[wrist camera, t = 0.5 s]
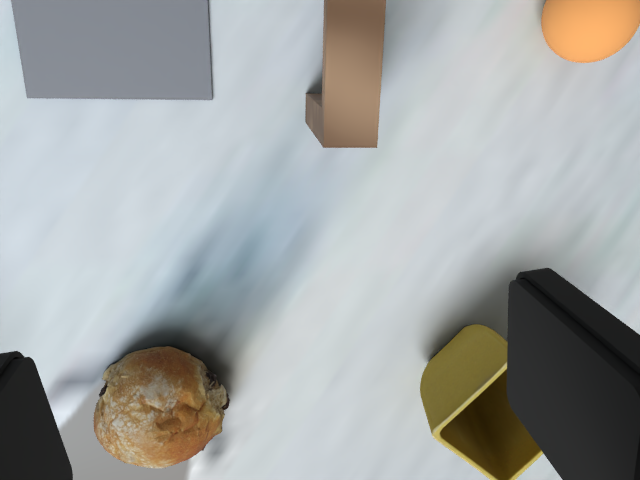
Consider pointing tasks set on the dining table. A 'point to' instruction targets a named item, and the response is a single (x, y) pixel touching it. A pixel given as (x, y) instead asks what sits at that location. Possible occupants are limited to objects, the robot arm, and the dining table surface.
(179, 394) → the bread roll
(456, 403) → the flower pot
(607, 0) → the ball
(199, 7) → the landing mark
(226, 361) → the dining table surface
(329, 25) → the bridge
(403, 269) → the dining table surface
